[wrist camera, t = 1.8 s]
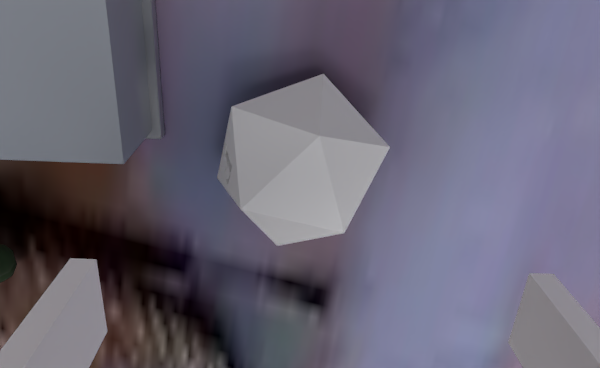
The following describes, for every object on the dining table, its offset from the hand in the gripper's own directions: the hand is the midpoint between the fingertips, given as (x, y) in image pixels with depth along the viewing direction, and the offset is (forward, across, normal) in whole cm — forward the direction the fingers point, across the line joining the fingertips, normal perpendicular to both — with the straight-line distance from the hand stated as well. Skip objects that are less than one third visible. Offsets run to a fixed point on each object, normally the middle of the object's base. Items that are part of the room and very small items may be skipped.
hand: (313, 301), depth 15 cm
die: (+16, 0, 0) cm, 16 cm away
